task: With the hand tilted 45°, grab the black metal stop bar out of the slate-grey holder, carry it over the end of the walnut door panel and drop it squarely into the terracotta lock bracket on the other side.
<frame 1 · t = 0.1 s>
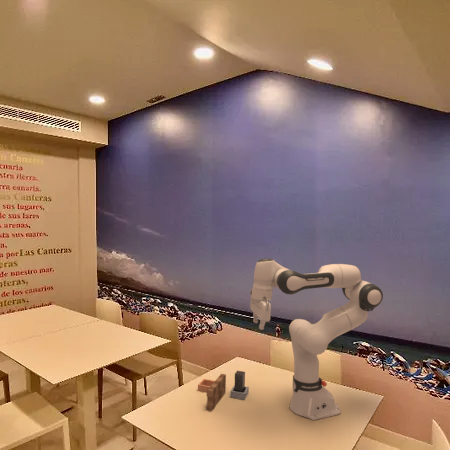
hand: (258, 325, 155), 39 cm above the table, tool pointing down, fingers open, 8 cm apart
stop bar: (239, 384, 171), in the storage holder
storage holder: (239, 395, 171), on the table
lock bracket: (207, 388, 177), on the table
door panel: (216, 400, 165), on the table
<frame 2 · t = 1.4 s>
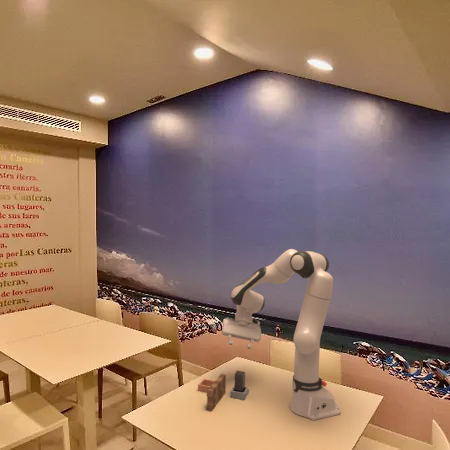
hand: (239, 346, 176), 22 cm above the table, tool tilted 45°, fingers open, 8 cm apart
nothing on the table moved.
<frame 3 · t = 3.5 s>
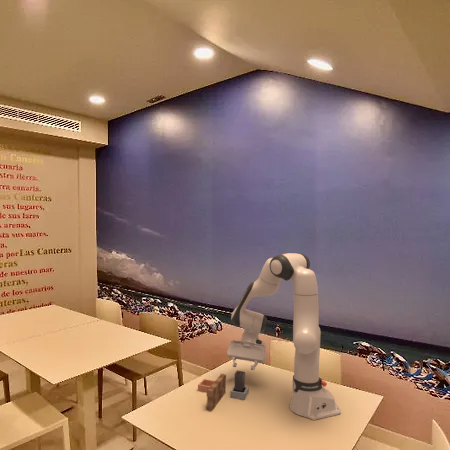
hand: (243, 368, 176), 11 cm above the table, tool tilted 45°, fingers open, 8 cm apart
nothing on the table moved.
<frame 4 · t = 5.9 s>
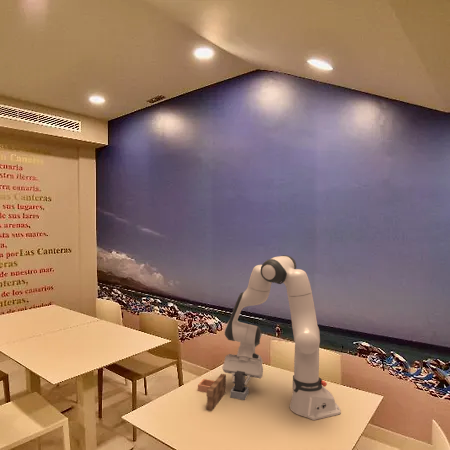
hand: (239, 383, 170), 6 cm above the table, tool tilted 45°, fingers closed on stop bar, 4 cm apart
stop bar: (239, 384, 171), in the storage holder, touching gripper
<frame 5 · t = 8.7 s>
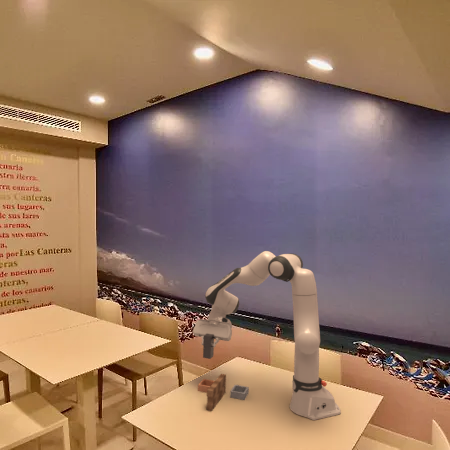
hand: (208, 345, 176), 22 cm above the table, tool tilted 45°, fingers closed on stop bar, 4 cm apart
stop bar: (208, 346, 176), point 22 cm above the table, touching gripper
when the fingers open (7 cm above the table, at t = 11.8 s): stop bar drops 2 cm, resting in lock bracket.
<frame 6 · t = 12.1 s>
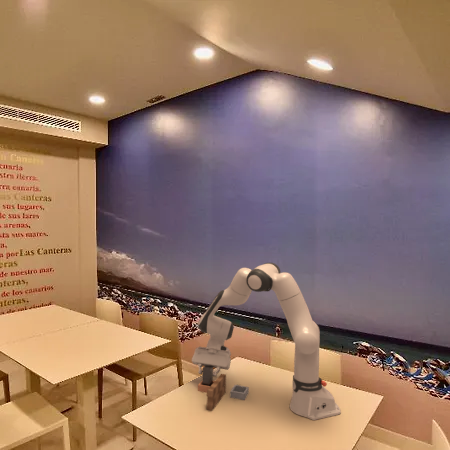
hand: (207, 374, 176), 7 cm above the table, tool tilted 45°, fingers open, 6 cm apart
stop bar: (207, 378, 176), in the lock bracket
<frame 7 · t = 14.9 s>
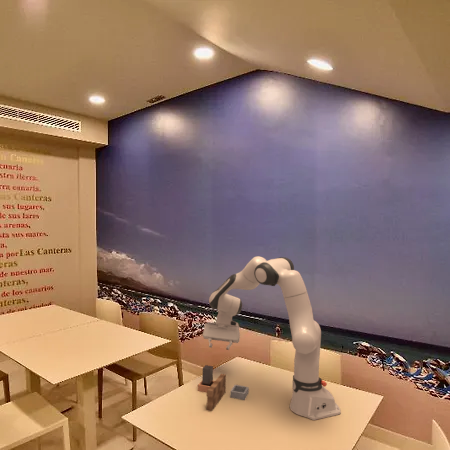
hand: (219, 348, 187), 17 cm above the table, tool tilted 40°, fingers open, 8 cm apart
nothing on the table moved.
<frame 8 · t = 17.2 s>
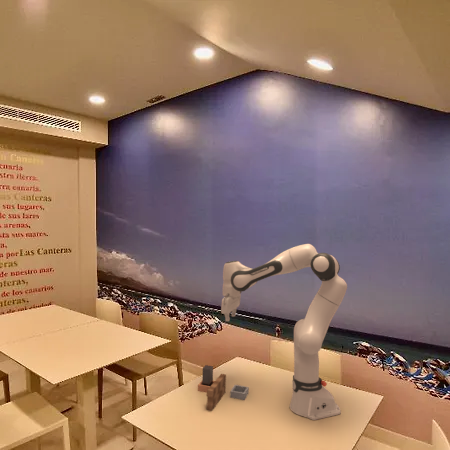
hand: (230, 318, 182), 34 cm above the table, tool pointing down, fingers open, 8 cm apart
nothing on the table moved.
at the end: stop bar 0.1 cm off-centre on the lock bracket, point 5.5 cm above the lock bracket's base; stop bar tilted 0°; the gripper is holding nothing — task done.
